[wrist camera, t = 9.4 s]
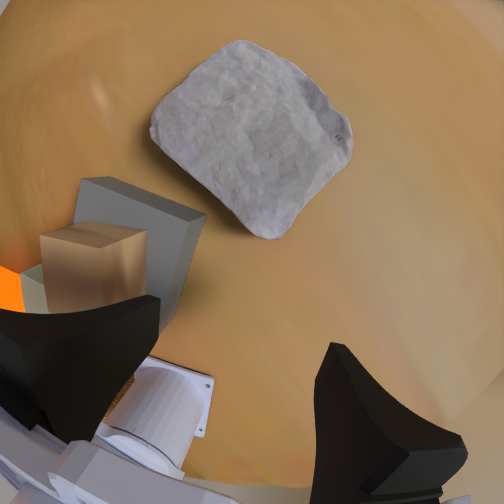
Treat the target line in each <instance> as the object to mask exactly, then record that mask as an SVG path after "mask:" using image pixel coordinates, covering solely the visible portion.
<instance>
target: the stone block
mask: <svg viewBox="0 0 504 504" xmlns="http://www.w3.org/2000/svg"><path fill="white" fill-rule="evenodd" d="M149 130H150V136H151V139H152V140H153V141H154V142H155V143H156V144H157V145H158V146H159V147H160V148H161V149H162V150H163V151H164V152H165V153H166V154H167V155H168V156H169V157H170V158H172V159H173V160H174V161H175V162H176V163H177V164H178V165H179V166H181V167H182V168H183V169H184V170H185V171H186V172H187V173H189V174H190V175H191V176H192V177H193V178H195V179H196V180H197V181H198V182H200V183H201V184H202V185H203V186H205V187H206V188H207V189H208V190H210V191H211V192H212V193H213V194H214V195H215V196H216V197H217V198H218V199H220V200H221V201H222V203H223V204H224V205H225V206H226V207H227V208H229V209H230V210H231V211H232V212H233V213H234V215H235V216H236V217H237V218H238V220H239V221H240V222H241V223H242V224H243V225H244V226H245V227H246V228H247V229H248V230H249V231H250V232H251V233H253V234H254V235H255V236H257V237H259V238H261V239H265V240H273V239H276V240H278V239H280V238H281V237H282V236H283V235H284V233H285V232H286V231H287V230H288V229H289V228H290V227H291V226H292V224H293V223H294V220H295V218H296V216H297V214H298V213H299V212H300V211H301V210H302V209H303V207H304V206H305V204H306V203H307V202H309V200H310V199H311V198H312V197H313V196H314V195H315V194H316V193H317V192H318V191H319V190H320V189H321V188H322V187H323V186H324V185H326V184H327V182H328V181H329V180H330V179H331V178H332V177H333V176H334V175H336V174H338V173H339V172H340V171H342V170H343V169H344V168H345V167H346V166H347V164H348V162H349V159H350V157H351V154H352V150H353V133H352V131H351V127H350V123H349V120H348V119H347V118H346V116H345V115H343V114H342V113H340V112H338V111H337V110H336V109H334V108H333V106H332V105H331V104H330V102H329V100H328V97H327V96H326V94H325V93H324V92H323V91H322V90H321V89H320V87H319V86H318V85H317V84H316V83H315V82H314V81H313V80H312V79H311V78H310V77H309V76H306V74H305V73H304V72H303V71H302V70H301V69H299V68H298V67H297V66H296V65H294V64H293V63H291V62H290V61H288V60H286V59H284V58H282V57H278V56H276V55H275V54H274V53H273V52H272V51H269V50H266V49H264V48H262V47H260V46H258V45H256V44H254V43H252V42H250V41H247V40H238V41H236V42H232V43H229V44H227V45H225V46H224V47H222V48H220V49H219V50H218V51H217V52H216V53H215V54H214V55H212V56H211V57H210V58H208V59H207V60H205V61H204V62H203V63H202V64H200V65H199V66H198V67H197V68H196V69H195V70H194V71H192V72H191V73H190V74H189V76H188V77H187V78H186V79H185V80H184V81H183V83H182V84H180V85H179V86H178V87H176V88H175V89H174V90H172V91H171V92H170V93H169V94H168V95H167V96H165V97H164V98H163V99H162V100H161V102H160V103H159V104H158V105H157V107H156V108H155V110H154V111H153V113H152V117H151V127H150V128H149Z"/></svg>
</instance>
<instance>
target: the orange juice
mask: <svg viewBox="0 0 504 504" xmlns="http://www.w3.org/2000/svg"><path fill="white" fill-rule="evenodd" d="M0 308H1V309H6V310H12V311H18V312H25V309H24V303H23V296H22V289H21V280H20V275H18V274H16V273H14V272H12V271H10V270H8V269H5V268H3V267H1V266H0Z"/></svg>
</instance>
